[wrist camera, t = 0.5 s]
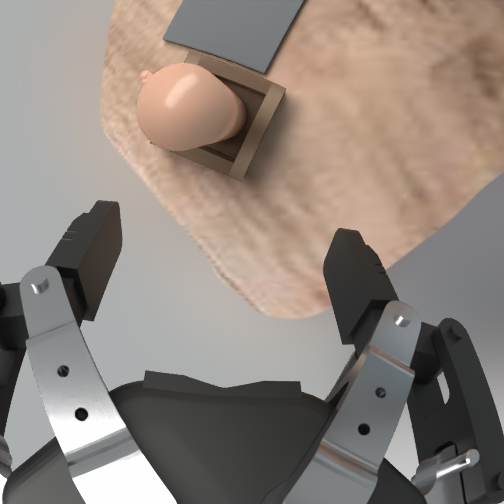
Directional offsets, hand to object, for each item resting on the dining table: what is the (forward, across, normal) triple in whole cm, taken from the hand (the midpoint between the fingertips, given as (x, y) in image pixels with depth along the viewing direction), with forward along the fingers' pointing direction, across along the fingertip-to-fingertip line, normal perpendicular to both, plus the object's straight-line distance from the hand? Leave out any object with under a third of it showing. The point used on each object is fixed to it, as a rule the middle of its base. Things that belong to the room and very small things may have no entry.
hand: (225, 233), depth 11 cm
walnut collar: (+26, +1, +2) cm, 26 cm away
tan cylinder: (+26, +2, +2) cm, 27 cm away
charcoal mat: (+30, +2, -11) cm, 32 cm away
